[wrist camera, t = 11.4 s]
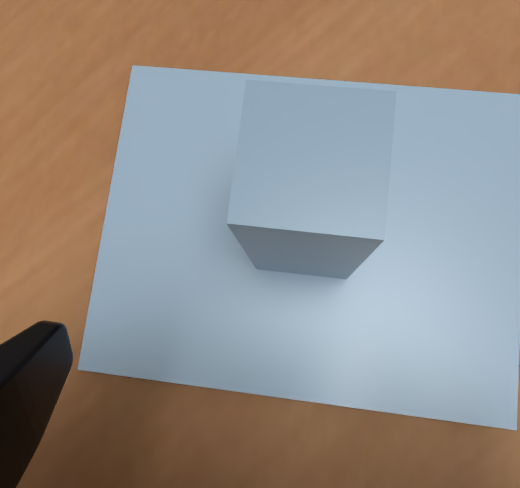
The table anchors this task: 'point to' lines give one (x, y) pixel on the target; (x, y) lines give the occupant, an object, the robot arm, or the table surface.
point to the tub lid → (314, 243)
